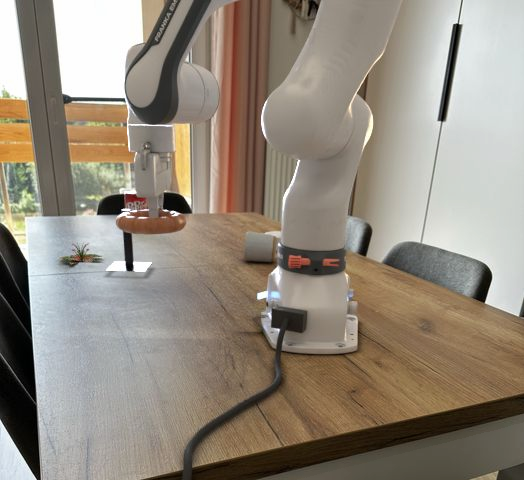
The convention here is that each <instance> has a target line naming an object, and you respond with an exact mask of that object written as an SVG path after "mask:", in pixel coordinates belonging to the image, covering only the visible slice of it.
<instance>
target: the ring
mask: <svg viewBox="0 0 524 480" xmlns="http://www.w3.org/2000/svg"><path fill="white" fill-rule="evenodd" d="M115 225H116V227H117V228H118V229H119V230H121V231H122V232H123V231H124V232H127V233H132V234H135V235H166V234H173V233H177V232H180V231H182V230H183V229H184V228H185V226H186V225H187V218H186V216H185V215H184V214H183V213H180V212H178V211H174V210H167V209H163V210H159V217H155V218H150V217H149V209H147V210H136V211H130V212H124V213H122V212H121V213H120V214H119V215H118V216H117V217H116V218H115Z"/></svg>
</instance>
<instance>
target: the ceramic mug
mask: <svg viewBox="0 0 524 480" xmlns="http://www.w3.org/2000/svg"><path fill="white" fill-rule="evenodd" d="M245 234H246V235H245V240H244V250H243V260H244V261H245V262H257V263H258V262H259V263H273V262H275V260H276V256H277V251H276V245H277V238H276V236H273V235H270V234H265V233H261V232H254V231H247V232H246V233H245Z"/></svg>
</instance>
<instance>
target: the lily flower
mask: <svg viewBox="0 0 524 480" xmlns="http://www.w3.org/2000/svg"><path fill="white" fill-rule="evenodd" d="M76 244H77V245H76ZM76 244H74V243H71V245H72V246H74V247H75V248H76V249H74V248H72V249H71V251H72V252H74V253H75V254H70V256H67V255H66V256H61V257H60V261H59V263H62V262H67V261H68V263H69V264H70V266H72V265H75V264H78V263H79V264H80V263H90V264H91V263H92V262H95V261H97V262H98V261H105V259H104V258H103V257H104V256H102V255H99V254H95V253H93V254H92V253H87V252H88V251H90V248H86V247H87V245H88V246H89V244H90V242H88V243H86V244H85V243H84V242H83V243H82V244H81V248H80V246H79V243H78V242H76ZM85 248H86V249H85Z"/></svg>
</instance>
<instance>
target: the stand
mask: <svg viewBox="0 0 524 480" xmlns="http://www.w3.org/2000/svg"><path fill="white" fill-rule="evenodd" d="M130 211H131V210H129V209H125V208H123V209H121V214H122V213H124V212H130ZM122 237H123V238H122V240H123V257H124V261H118V260H117V261H116V260H114V262H112V263H111V265H109V266H108V267H107V268H106V269H105V271H108V272H135V273H136V272H138V273H146V271H147V270H148V269H149V268H150V267H151V266H152V265H153V262H149V261H148V262H147V261H145V262H144V261H135V260H134V244H133V243H134V242H133V233H127V232H124V231H122Z"/></svg>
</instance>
